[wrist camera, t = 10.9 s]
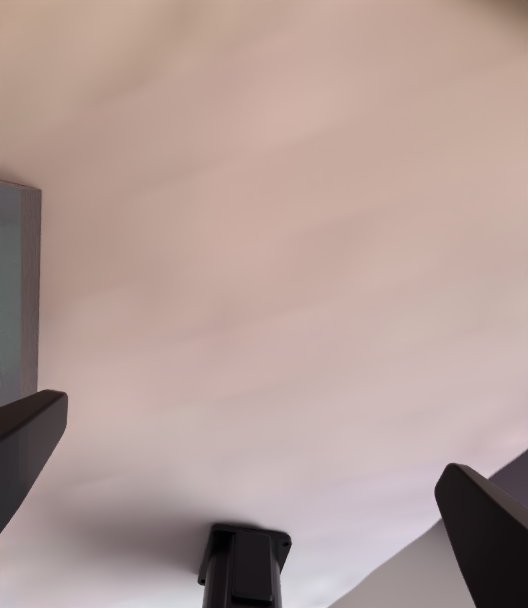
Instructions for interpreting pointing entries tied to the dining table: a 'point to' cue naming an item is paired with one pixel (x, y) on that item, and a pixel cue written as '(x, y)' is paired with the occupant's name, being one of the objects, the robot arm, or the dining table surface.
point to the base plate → (19, 290)
